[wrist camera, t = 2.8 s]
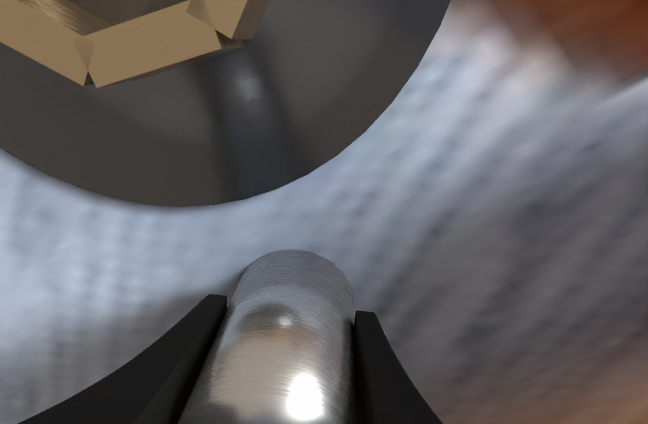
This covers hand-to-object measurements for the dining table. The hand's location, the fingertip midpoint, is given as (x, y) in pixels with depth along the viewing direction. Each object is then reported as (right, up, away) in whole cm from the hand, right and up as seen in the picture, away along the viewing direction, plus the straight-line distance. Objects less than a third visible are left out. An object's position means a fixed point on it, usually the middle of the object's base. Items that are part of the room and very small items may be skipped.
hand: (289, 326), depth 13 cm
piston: (0, +1, +1) cm, 1 cm away
